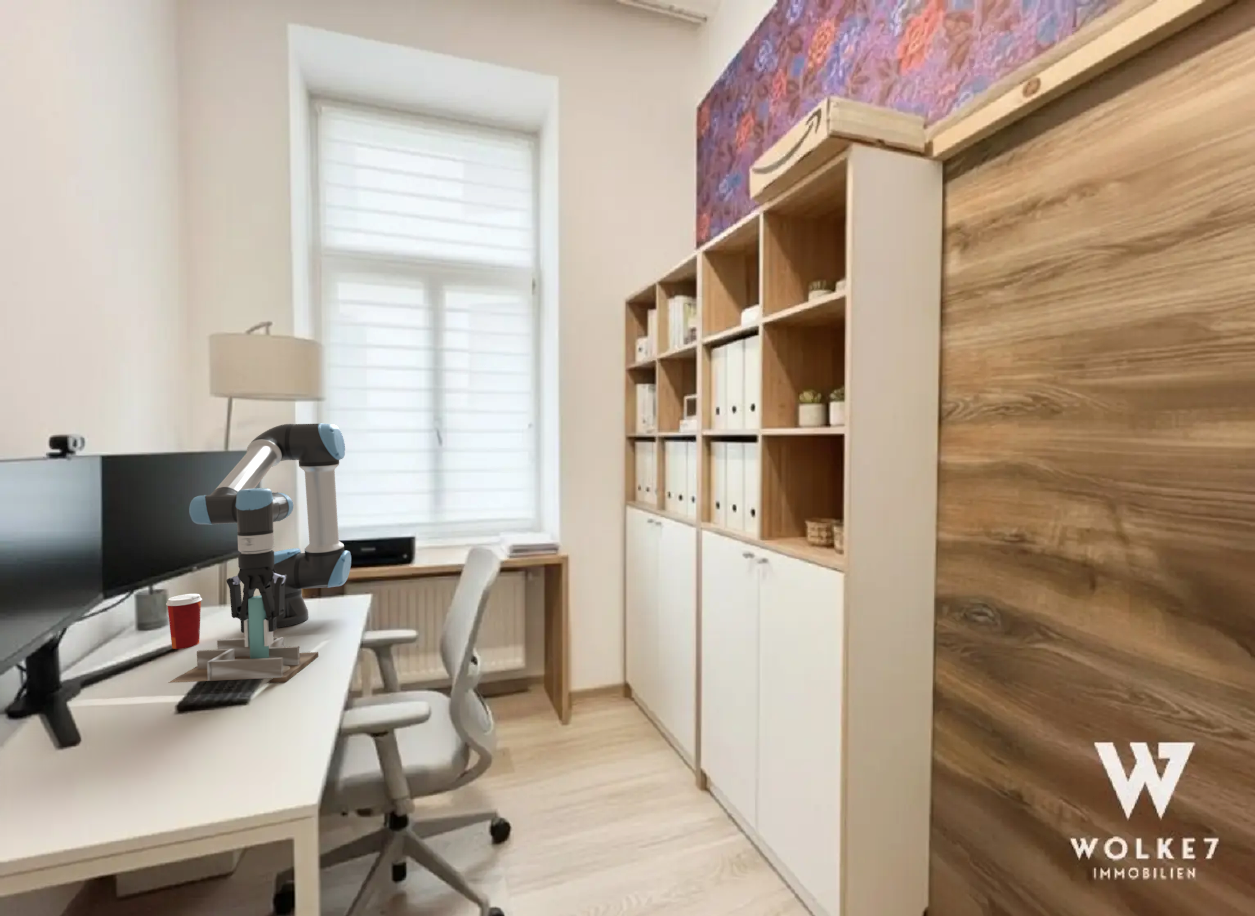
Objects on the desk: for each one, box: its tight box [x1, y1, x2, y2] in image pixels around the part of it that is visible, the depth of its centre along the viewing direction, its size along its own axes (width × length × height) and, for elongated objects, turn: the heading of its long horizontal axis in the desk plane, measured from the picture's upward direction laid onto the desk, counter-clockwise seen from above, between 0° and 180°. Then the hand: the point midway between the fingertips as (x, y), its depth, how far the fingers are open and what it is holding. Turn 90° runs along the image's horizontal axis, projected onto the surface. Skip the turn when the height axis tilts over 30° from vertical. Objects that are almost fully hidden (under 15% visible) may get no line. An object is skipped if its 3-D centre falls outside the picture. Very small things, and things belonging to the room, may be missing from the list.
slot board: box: [168, 636, 319, 684], centre depth 147 cm, size 17×27×6 cm, turn 94°
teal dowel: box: [248, 594, 269, 659], centre depth 143 cm, size 4×4×16 cm
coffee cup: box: [165, 593, 203, 650], centre depth 164 cm, size 8×8×15 cm
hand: (259, 644), depth 143 cm, fingers closed on teal dowel, 4 cm apart
